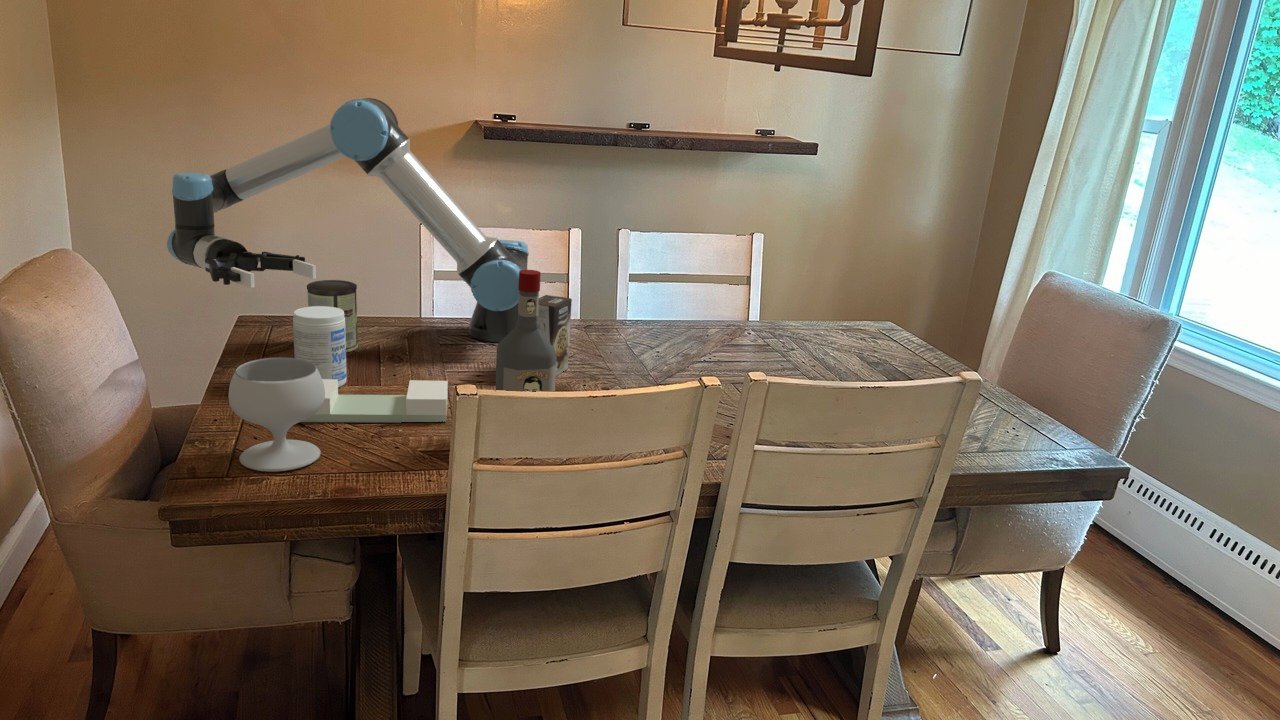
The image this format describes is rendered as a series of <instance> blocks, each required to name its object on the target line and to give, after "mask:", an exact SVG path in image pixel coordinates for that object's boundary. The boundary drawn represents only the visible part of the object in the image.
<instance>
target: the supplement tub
mask: <svg viewBox="0 0 1280 720" xmlns="http://www.w3.org/2000/svg"><path fill="white" fill-rule="evenodd" d="M292 315H293V318H292V329H293V330H292V332H293V353H294V358H296V359H302V360H306V361H308V362H311V363H312V364H314V365H315V366H316V368H317V369H318V371H319V373H320V375H321V378H322V379H338V388H340V387H342V386H343V385H345V384H346V382H347V375H348V374H347V352H346V335H345V317H344V311H343V310H342V309H339V308H335V307H328V306H312V307H308V306H305V307H300V308H298V309H295V310H294V311H293V314H292Z"/></svg>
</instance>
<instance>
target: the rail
mask: <svg viewBox="0 0 1280 720" xmlns="http://www.w3.org/2000/svg"><path fill="white" fill-rule="evenodd" d="M322 380H323V384H324V388H325V399H324V402H323V404H322V406H321V408H320V409H319V410H318V411H317V412H316V413H315V414H313V415H312V416H310V417H309V418H307V419H305V420H303V421H301V422H300V423H401V422H438V421H440V422H441V421H443V422H444V421H445V422H446V423H447V417H446V416H448V415H447V414H448V390H449V389H448V386H449V383H448V381H449V380H426V379H425V380H417V379H416V380H415V379H412V380H411V379H410V380H409V384H408V388H407V391H406V392H407V394H342V393H341V394H339V387H338V379H322Z"/></svg>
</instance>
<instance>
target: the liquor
mask: <svg viewBox="0 0 1280 720" xmlns="http://www.w3.org/2000/svg"><path fill="white" fill-rule="evenodd" d="M518 290H519V308H518V320H517V322H516V327H515V328H514V329H513V330H512V331H511V332H510V333H509V334H508V335H507V336H506V337H505V338H504V339H503V340H502V341H501V342H498V346H497V347H496V361H495V362H496V363H495V365H496V367H495V391H496V390H506V391H532V392H536V391H555V392H556V378H557V376H556V359H557V356H556V352H555V349H554V348H553V346H552V345H551V344H550V342H549V341H548V340H547V338H546V337H545V336H544V334H543V333H542V332H541V330H540V329H539V323H538V302H539V298H540V297H539V296H540V293H539V292H541V271H540V270H535V269H527V270H521V271H519V287H518Z"/></svg>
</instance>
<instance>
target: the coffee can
mask: <svg viewBox="0 0 1280 720" xmlns="http://www.w3.org/2000/svg"><path fill="white" fill-rule="evenodd" d="M357 286H358V285H357V284H356V283H354V282H353V281H348V280H342V279H329V280H328V279H325V280H323V279H322V280H317V281H312V282H308V284H307V285H306V290H307V307H312V306H328V307H335V308H339V309H342V310H343V311H344V317H345V335H346V353H350V352H352V351H353V352H354V351H355V350H357V349H358V347H359V344H358V313H357V311H358V309H357V308H358V307H357V306H358V305H357V304H358V303H357V290H358V287H357Z"/></svg>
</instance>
